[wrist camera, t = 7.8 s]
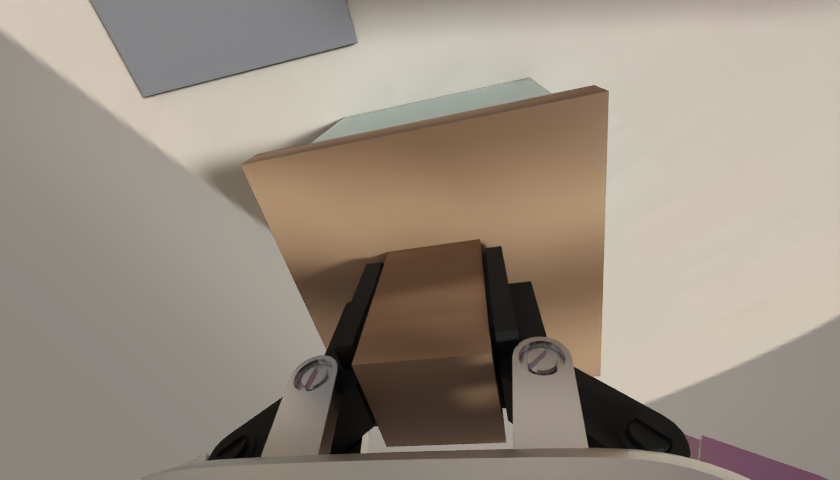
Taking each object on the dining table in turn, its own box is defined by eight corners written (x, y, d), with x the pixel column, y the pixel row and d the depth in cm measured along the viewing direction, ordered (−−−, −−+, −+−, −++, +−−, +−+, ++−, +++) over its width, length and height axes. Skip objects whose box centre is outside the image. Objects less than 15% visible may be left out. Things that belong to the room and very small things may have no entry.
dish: (343, 117, 19) (310, 143, 15) (529, 77, 18) (552, 94, 13) (389, 266, 24) (373, 318, 20) (540, 246, 22) (560, 299, 18)
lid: (258, 154, 13) (111, 244, 7) (594, 85, 11) (730, 140, 5) (352, 371, 18) (307, 517, 12) (591, 353, 16) (658, 518, 10)
